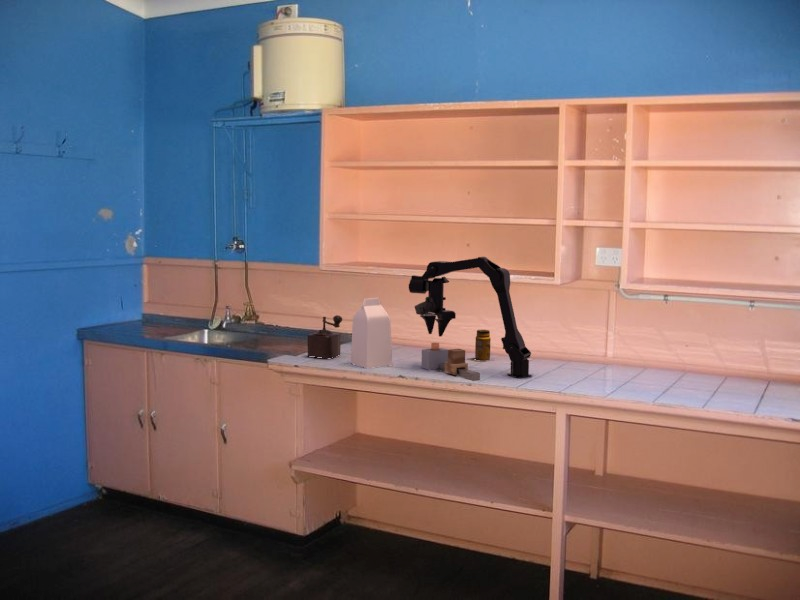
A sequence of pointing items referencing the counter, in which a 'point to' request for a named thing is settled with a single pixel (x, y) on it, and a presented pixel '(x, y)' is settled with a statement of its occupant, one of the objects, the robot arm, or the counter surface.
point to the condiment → (482, 346)
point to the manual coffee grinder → (325, 341)
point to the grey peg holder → (434, 358)
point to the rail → (462, 372)
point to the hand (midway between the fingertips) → (435, 335)
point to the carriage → (455, 361)
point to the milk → (371, 335)
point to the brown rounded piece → (434, 346)
